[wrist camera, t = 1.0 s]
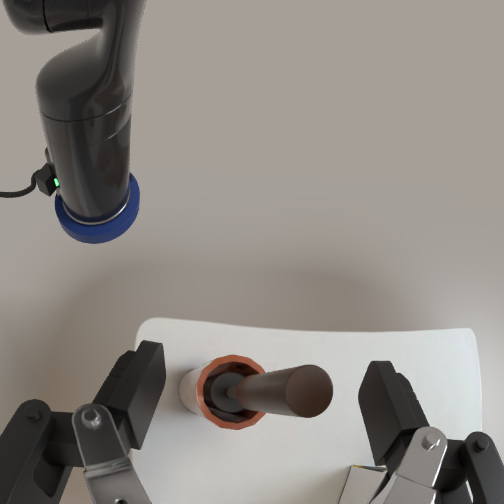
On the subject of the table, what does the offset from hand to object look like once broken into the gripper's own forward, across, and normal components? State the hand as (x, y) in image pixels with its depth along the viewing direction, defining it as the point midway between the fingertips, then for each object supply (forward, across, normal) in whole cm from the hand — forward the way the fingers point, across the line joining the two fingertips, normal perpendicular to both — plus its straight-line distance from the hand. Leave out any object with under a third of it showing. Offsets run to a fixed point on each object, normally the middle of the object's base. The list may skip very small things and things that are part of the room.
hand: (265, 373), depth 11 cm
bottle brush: (+11, +3, +13) cm, 17 cm away
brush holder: (+16, +5, +18) cm, 25 cm away
